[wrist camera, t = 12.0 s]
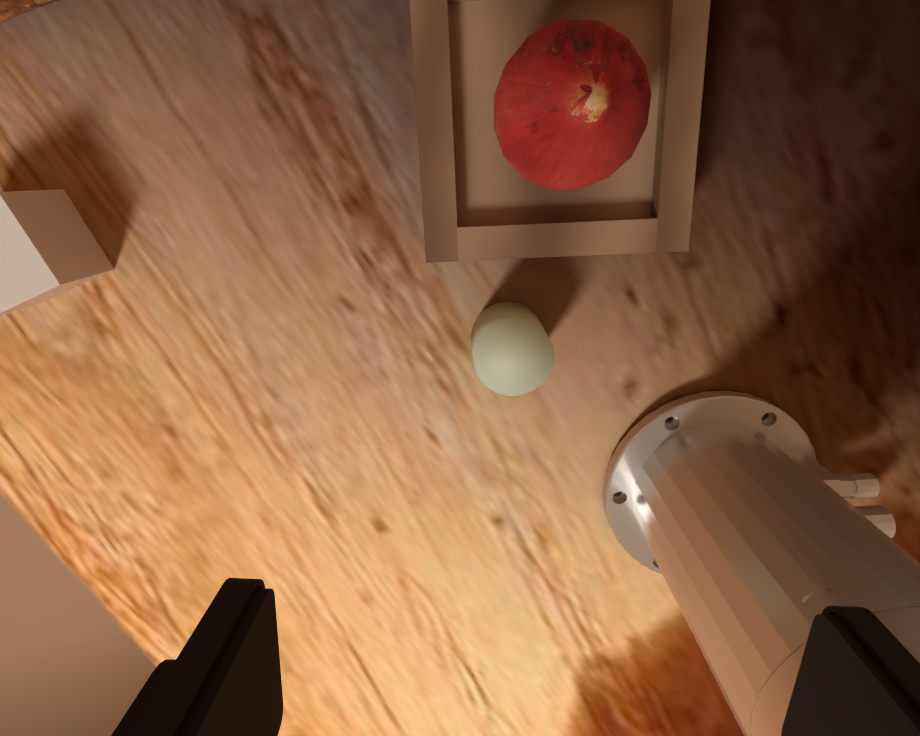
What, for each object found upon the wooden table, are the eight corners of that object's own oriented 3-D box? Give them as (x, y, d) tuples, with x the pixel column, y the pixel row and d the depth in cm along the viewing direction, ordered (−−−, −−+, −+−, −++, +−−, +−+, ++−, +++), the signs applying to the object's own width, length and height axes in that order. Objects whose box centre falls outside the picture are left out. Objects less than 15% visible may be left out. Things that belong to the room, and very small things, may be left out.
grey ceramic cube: (65, 188, 29) (-2, 191, 25) (115, 269, 31) (60, 284, 26) (-7, 224, 30) (-84, 232, 26) (46, 301, 31) (-19, 321, 27)
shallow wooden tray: (674, -25, 26) (716, -63, 22) (655, 239, 30) (688, 250, 26) (414, -13, 26) (406, -48, 22) (430, 249, 30) (426, 262, 26)
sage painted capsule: (542, 299, 31) (554, 317, 27) (542, 368, 33) (553, 393, 29) (469, 302, 31) (471, 321, 28) (472, 370, 33) (474, 397, 29)
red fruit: (491, 41, 24) (506, -19, 16) (626, 44, 24) (704, -14, 16) (486, 185, 26) (498, 192, 18) (612, 188, 26) (675, 195, 18)
